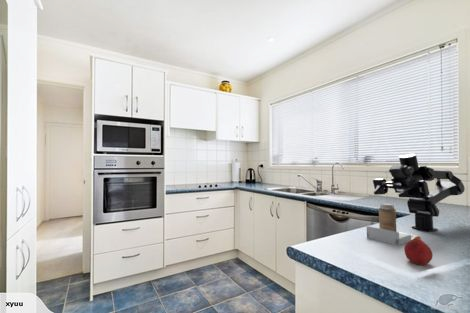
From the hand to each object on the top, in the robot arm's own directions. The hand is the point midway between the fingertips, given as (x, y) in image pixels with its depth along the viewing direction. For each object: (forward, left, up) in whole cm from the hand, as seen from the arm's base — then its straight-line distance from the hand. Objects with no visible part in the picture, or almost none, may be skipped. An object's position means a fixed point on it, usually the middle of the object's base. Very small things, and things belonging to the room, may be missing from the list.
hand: (386, 194), depth 86 cm
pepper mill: (+5, +4, -15) cm, 16 cm away
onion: (+17, +20, -16) cm, 31 cm away
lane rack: (+1, +3, -16) cm, 16 cm away
